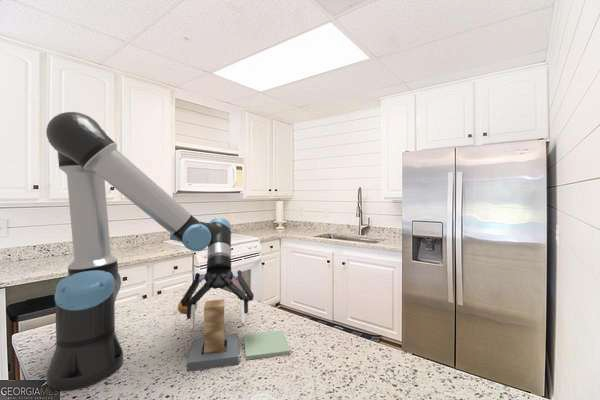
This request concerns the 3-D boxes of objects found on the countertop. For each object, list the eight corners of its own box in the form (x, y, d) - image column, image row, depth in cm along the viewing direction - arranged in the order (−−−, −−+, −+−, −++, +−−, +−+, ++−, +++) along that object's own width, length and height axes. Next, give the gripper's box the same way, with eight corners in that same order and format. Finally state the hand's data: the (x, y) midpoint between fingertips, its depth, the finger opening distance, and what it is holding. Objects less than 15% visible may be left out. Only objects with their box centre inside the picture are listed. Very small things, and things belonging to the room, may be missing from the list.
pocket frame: (186, 371, 71) (186, 363, 71) (193, 345, 83) (193, 338, 83) (238, 364, 74) (238, 356, 74) (237, 340, 86) (237, 333, 86)
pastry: (197, 313, 106) (196, 302, 106) (177, 315, 104) (177, 305, 103) (196, 303, 115) (196, 294, 115) (178, 306, 112) (178, 296, 112)
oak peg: (204, 360, 75) (204, 307, 75) (205, 350, 80) (205, 300, 80) (223, 358, 76) (223, 306, 76) (224, 348, 81) (224, 299, 81)
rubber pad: (245, 360, 76) (245, 356, 75) (243, 337, 87) (243, 334, 87) (290, 354, 78) (290, 350, 78) (282, 333, 90) (282, 330, 90)
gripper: (257, 264, 98) (262, 327, 84) (179, 268, 92) (170, 337, 78) (258, 251, 93) (264, 317, 79) (176, 256, 87) (166, 327, 73)
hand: (217, 327), depth 78 cm, fingers open, 13 cm apart
